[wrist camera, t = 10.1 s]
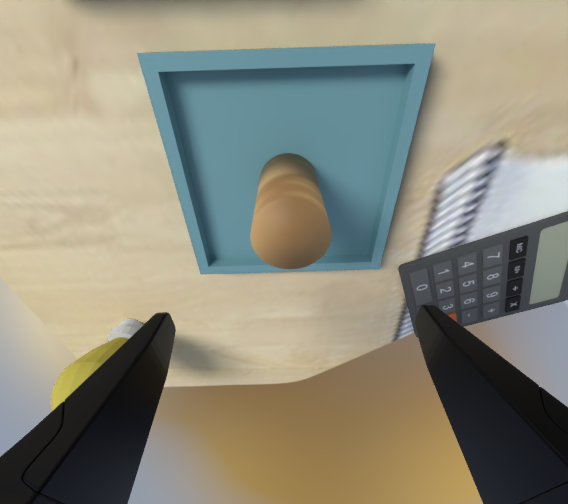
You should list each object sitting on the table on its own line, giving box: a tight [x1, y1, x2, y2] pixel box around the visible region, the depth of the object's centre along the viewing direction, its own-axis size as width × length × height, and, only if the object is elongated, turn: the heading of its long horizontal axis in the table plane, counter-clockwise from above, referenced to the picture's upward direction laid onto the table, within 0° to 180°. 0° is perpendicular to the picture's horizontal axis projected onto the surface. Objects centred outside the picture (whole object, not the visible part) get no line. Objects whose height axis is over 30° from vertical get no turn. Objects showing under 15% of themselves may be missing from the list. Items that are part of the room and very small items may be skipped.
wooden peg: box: [250, 153, 332, 269], centre depth 16 cm, size 4×4×7 cm
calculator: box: [399, 212, 568, 337], centre depth 26 cm, size 12×1×15 cm
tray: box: [137, 44, 435, 274], centre depth 19 cm, size 15×15×2 cm
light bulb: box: [51, 319, 143, 411], centre depth 25 cm, size 7×7×10 cm
